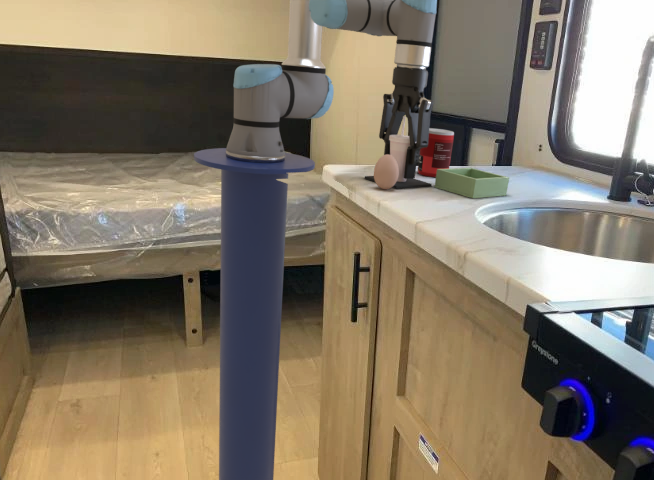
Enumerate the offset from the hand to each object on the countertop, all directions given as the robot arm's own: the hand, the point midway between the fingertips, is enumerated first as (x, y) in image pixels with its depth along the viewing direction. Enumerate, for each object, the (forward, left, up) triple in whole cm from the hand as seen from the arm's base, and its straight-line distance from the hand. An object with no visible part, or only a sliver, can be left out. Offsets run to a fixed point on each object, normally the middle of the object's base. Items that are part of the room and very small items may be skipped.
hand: (398, 175), depth 137 cm
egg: (+5, -8, -2) cm, 10 cm away
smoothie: (0, 0, -1) cm, 1 cm away
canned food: (-6, +18, -2) cm, 19 cm away
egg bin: (+12, +12, -2) cm, 17 cm away
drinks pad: (0, 0, -2) cm, 2 cm away
